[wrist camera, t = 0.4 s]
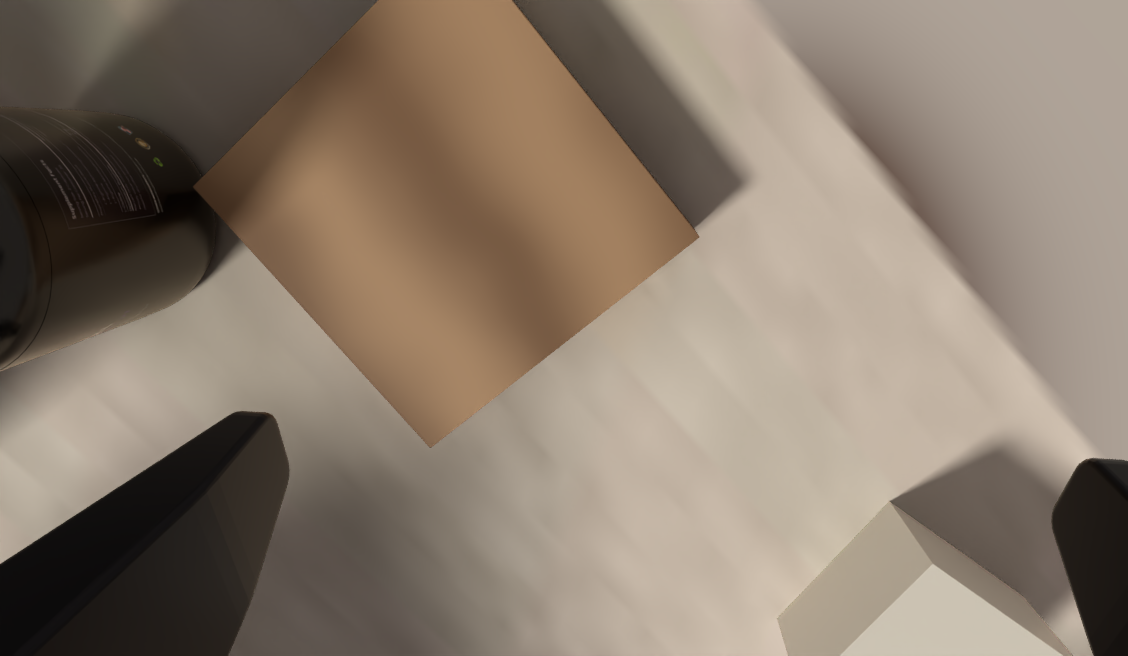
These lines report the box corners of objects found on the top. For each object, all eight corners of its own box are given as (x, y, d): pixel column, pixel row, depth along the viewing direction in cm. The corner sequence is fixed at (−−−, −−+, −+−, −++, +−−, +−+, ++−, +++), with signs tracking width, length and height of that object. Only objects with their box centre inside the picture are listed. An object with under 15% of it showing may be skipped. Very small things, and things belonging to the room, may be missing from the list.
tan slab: (445, 424, 26) (430, 448, 24) (227, 182, 24) (192, 186, 23) (694, 228, 23) (699, 237, 22) (468, -56, 22) (452, -74, 20)
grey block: (902, 701, 28) (946, 794, 24) (776, 615, 27) (799, 694, 23) (1019, 592, 26) (1087, 672, 22) (887, 498, 25) (932, 563, 22)
